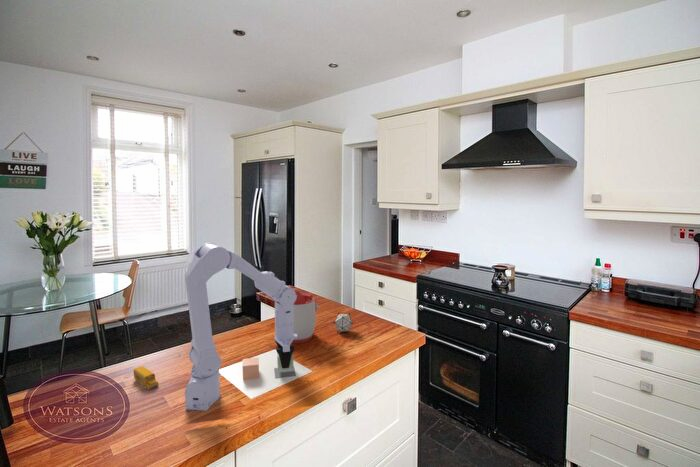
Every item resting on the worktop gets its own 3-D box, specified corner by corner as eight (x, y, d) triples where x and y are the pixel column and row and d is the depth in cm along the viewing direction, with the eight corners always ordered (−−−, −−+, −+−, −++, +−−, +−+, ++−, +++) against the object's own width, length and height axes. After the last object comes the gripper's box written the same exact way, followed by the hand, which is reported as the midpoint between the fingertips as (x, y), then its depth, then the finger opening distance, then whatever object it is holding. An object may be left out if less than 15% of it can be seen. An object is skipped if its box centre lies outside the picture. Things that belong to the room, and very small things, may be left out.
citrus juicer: (325, 343, 137) (325, 293, 134) (280, 350, 130) (280, 297, 128) (314, 328, 151) (314, 283, 149) (273, 334, 145) (272, 287, 142)
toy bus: (148, 391, 103) (147, 379, 103) (133, 380, 109) (133, 368, 109) (159, 387, 106) (158, 374, 105) (144, 376, 112) (144, 365, 111)
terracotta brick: (259, 378, 109) (258, 364, 108) (242, 380, 108) (242, 366, 107) (258, 370, 113) (258, 357, 113) (243, 372, 112) (243, 359, 112)
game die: (338, 339, 149) (327, 318, 151) (355, 330, 152) (344, 309, 154) (342, 337, 141) (330, 315, 143) (360, 327, 144) (348, 305, 146)
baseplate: (251, 402, 98) (250, 398, 98) (216, 373, 113) (216, 370, 113) (312, 374, 113) (312, 371, 113) (274, 351, 129) (274, 349, 129)
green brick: (293, 368, 111) (293, 354, 110) (277, 370, 110) (277, 356, 109) (291, 361, 115) (291, 348, 115) (277, 363, 114) (276, 349, 114)
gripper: (299, 330, 105) (300, 373, 106) (294, 313, 119) (294, 352, 120) (275, 332, 103) (276, 376, 105) (273, 315, 117) (273, 354, 118)
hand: (284, 363), depth 112 cm, fingers closed on green brick, 5 cm apart
